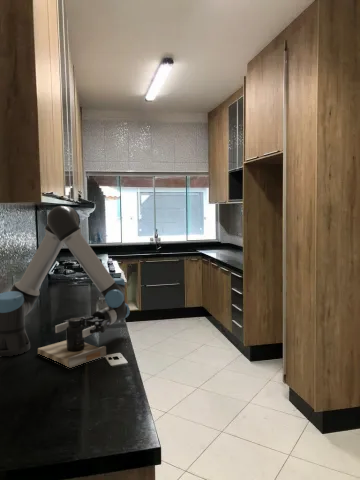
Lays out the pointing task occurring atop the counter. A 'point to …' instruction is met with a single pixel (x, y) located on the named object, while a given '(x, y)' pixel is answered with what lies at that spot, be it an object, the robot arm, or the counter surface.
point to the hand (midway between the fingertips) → (69, 331)
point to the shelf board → (71, 353)
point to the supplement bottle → (75, 335)
